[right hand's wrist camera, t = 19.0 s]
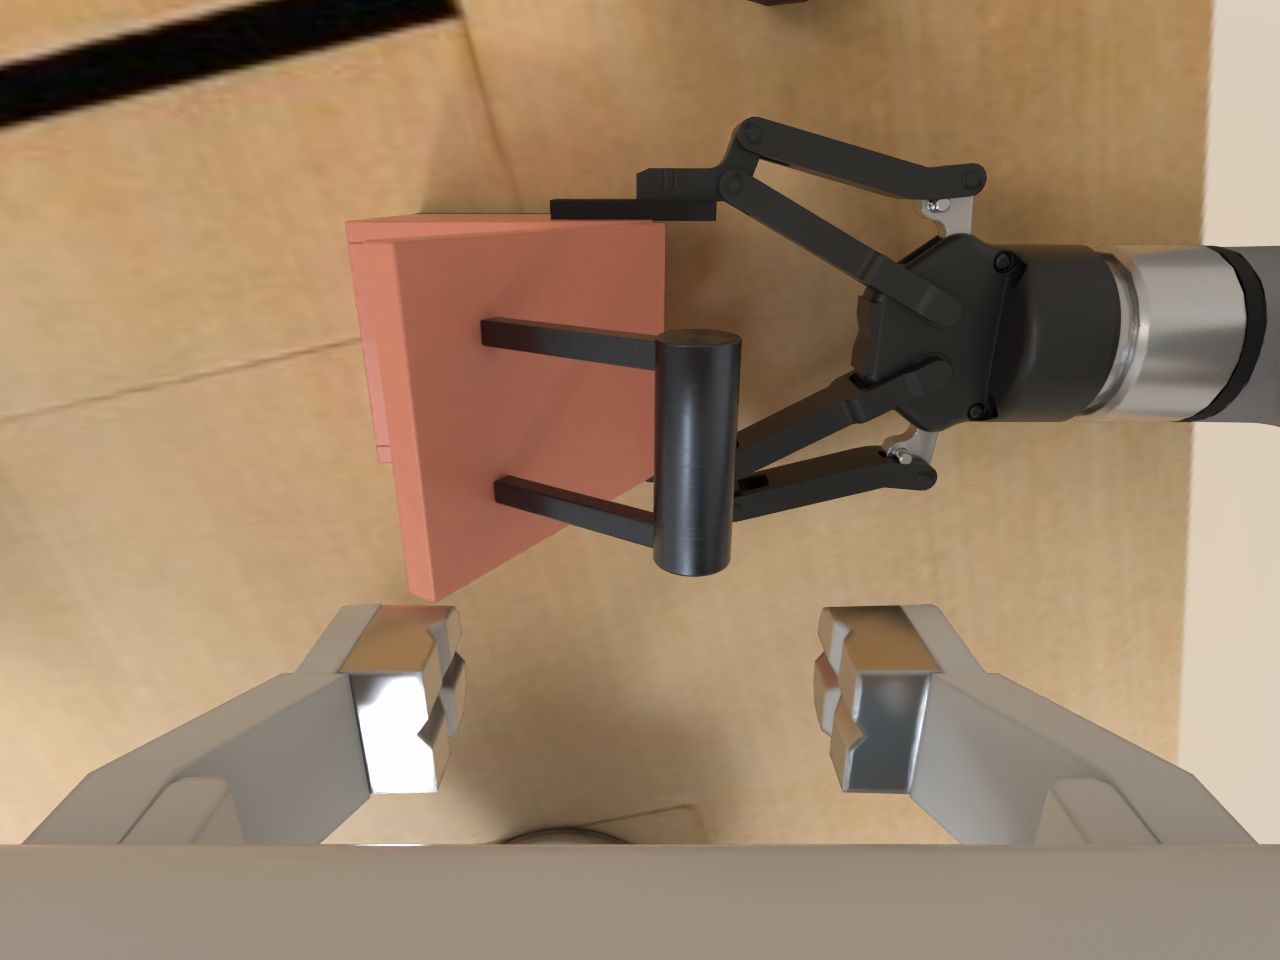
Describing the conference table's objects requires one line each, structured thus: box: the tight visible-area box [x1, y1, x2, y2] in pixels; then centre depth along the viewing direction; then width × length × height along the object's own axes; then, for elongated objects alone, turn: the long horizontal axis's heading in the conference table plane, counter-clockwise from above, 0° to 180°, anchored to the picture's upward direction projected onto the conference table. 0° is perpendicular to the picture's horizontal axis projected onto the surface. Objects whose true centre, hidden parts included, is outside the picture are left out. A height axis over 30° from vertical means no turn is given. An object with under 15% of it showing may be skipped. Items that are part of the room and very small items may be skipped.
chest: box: [345, 213, 653, 463], centre depth 33 cm, size 12×10×10 cm
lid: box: [363, 222, 742, 602], centre depth 22 cm, size 12×10×8 cm
